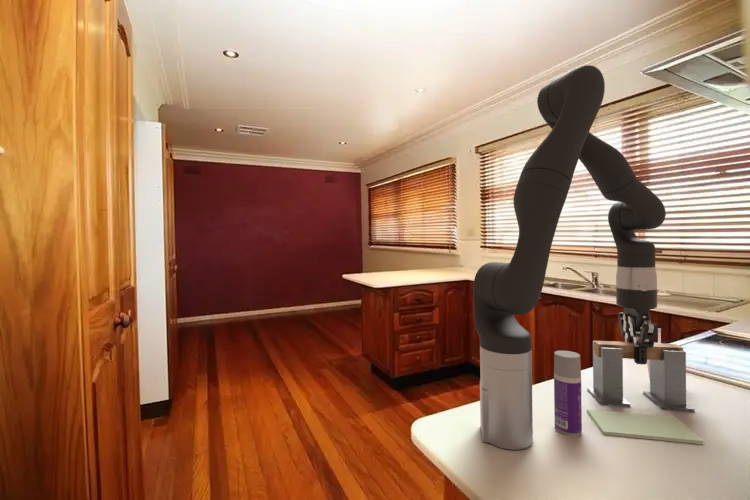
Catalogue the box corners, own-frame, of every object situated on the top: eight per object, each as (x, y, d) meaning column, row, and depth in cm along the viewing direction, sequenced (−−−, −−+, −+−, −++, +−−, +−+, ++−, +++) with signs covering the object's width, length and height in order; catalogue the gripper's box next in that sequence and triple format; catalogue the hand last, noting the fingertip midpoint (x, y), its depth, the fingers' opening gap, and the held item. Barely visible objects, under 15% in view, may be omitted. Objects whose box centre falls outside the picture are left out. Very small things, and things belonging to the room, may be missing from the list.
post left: (599, 404, 79) (599, 349, 78) (587, 389, 86) (586, 339, 86) (630, 406, 77) (629, 350, 77) (614, 391, 85) (614, 340, 85)
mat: (603, 434, 67) (603, 431, 67) (586, 412, 75) (586, 409, 75) (703, 444, 63) (703, 440, 63) (674, 419, 71) (674, 416, 71)
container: (585, 437, 66) (584, 358, 66) (558, 435, 67) (557, 357, 66) (576, 424, 70) (575, 350, 70) (551, 422, 71) (550, 349, 71)
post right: (661, 409, 76) (661, 352, 76) (643, 393, 84) (642, 342, 83) (694, 411, 74) (694, 353, 74) (672, 395, 82) (672, 343, 82)
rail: (598, 357, 81) (598, 344, 81) (593, 353, 84) (593, 340, 84) (683, 361, 77) (683, 347, 77) (675, 357, 80) (675, 343, 80)
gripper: (605, 282, 88) (606, 351, 88) (631, 290, 74) (632, 371, 74) (639, 283, 86) (640, 352, 86) (673, 290, 72) (673, 373, 73)
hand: (636, 360), depth 80 cm, fingers closed on rail, 3 cm apart
